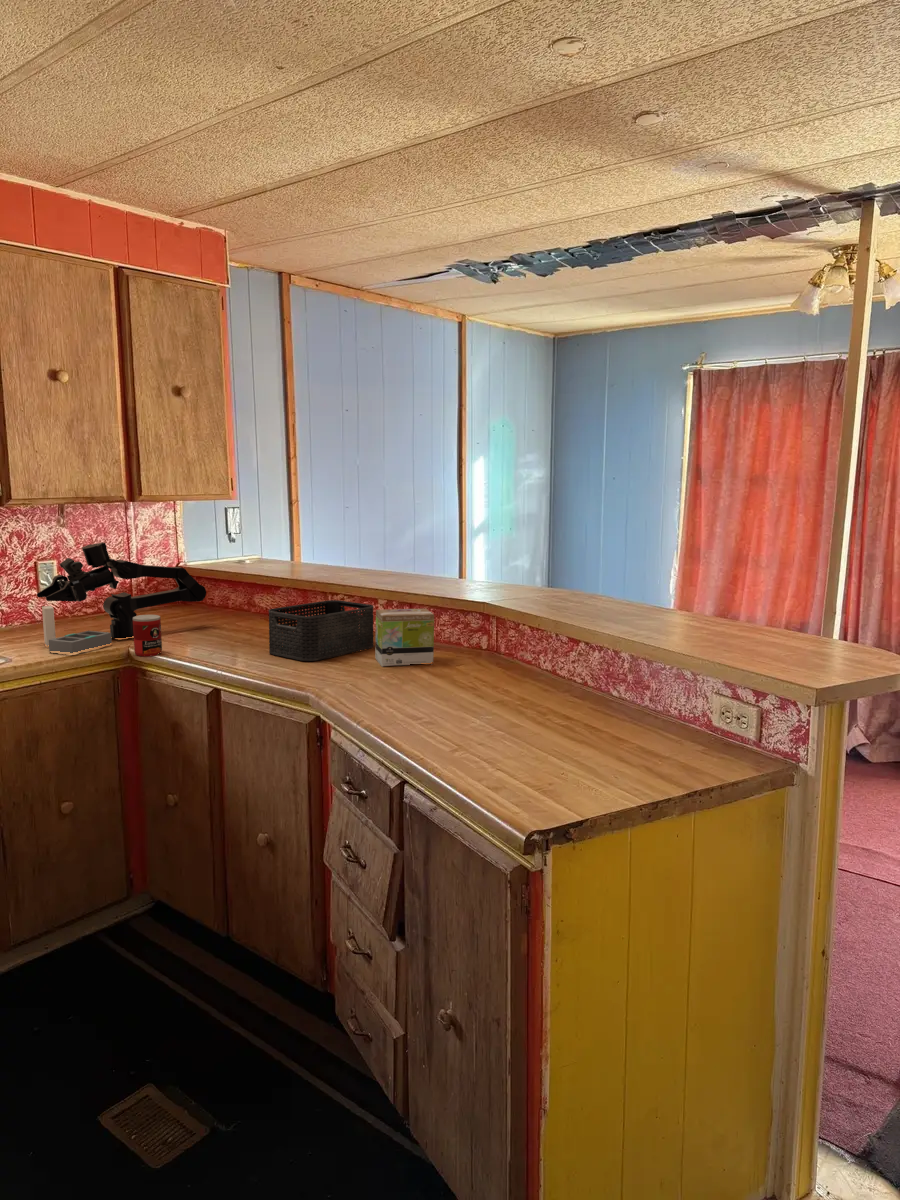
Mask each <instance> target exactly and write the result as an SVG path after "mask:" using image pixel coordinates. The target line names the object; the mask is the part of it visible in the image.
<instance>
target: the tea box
mask: <svg viewBox="0 0 900 1200" xmlns="http://www.w3.org/2000/svg"><path fill="white" fill-rule="evenodd" d="M434 645H435V614H434V613H433V612H431V611H430V610H429V609H428V608H400V609H399V608H393V609H389V608H388V609H375V646H374V647H375V649H374V650H375V652H374V654H375V655H374V657H375V660H376V661H377V663H378V664H379V665H380V666H381V667H389V666H393V667H394V666H411V665H410V664H421V663H431V662H433V663H434V654H435V653H434V652H435V651H434V650H435V646H434Z"/></svg>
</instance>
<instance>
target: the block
mask: <svg viewBox="0 0 900 1200" xmlns="http://www.w3.org/2000/svg"><path fill="white" fill-rule="evenodd" d="M41 609H42V610H41V611H42V612H41V614H42V624H43V625H42V626H43V638H44V639H43V641H44V645H45V644H46V645H47V646H48V645H49V640H50V639H55V638H57V637H56V624H55V623H56V622H55V609H54V607H53V606H52V605H44V606H41Z"/></svg>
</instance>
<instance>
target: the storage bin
mask: <svg viewBox="0 0 900 1200" xmlns="http://www.w3.org/2000/svg"><path fill="white" fill-rule="evenodd" d="M345 607H346V608H347V607H348V608H355V609H351V610H346V608H345ZM268 636H269V638H268V643H269V644H268V646H269V647H268V648H269V654H271V655H273V656H277V657H282V658H287V659H289V660H290V659H292V660H296V661H301V662H303V661H304V662H305V661H306V662H313V661H314V662H315V661H323V660H327V659H330V658H336V657H340V656H345V655H349V654H352V652H354V653H357V652H356V651H358V652H361V651H360V650H363V651H366V650H365V649H367V650H369V649H372V647H373V648H374V647H375V646H374V605H373V604H367V603H360V602H353V601H347V600H340V599H339V600H338V599H334V600H333V599H330V600H327V599H326V600H321V601H315V602H308V603H301V604H295V605H289V606H288V605H287V606H282V607H276V608H275V607H274V608H271V609H270V608H269V609H268Z"/></svg>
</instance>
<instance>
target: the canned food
mask: <svg viewBox="0 0 900 1200" xmlns="http://www.w3.org/2000/svg"><path fill="white" fill-rule="evenodd" d="M133 635H134V639H133V647H134V648H133V649H134V654H135V655H136V656H137V657H155V656H158V655H157V654H158V653H160V652H161V653H162V651H163V643H162V622H161V615H158V614H140V615H136V616H135V617H133Z"/></svg>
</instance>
